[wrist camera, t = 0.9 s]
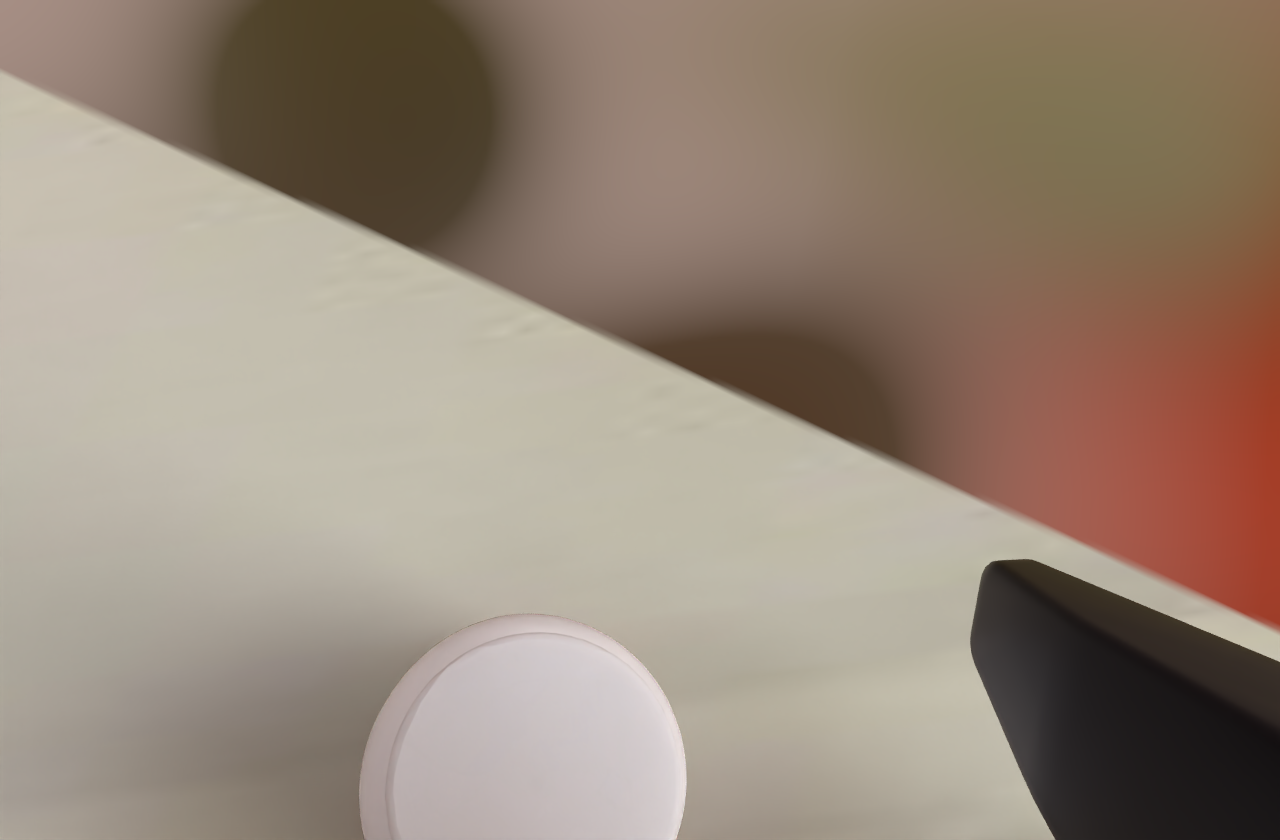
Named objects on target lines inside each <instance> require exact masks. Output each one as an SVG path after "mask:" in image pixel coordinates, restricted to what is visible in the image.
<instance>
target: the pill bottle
mask: <svg viewBox="0 0 1280 840" xmlns="http://www.w3.org/2000/svg"><path fill="white" fill-rule="evenodd" d="M685 799H686V760H685V752H684V747H683V742H682V737H681V733H680V730H679V727H678V724H677V721H676V718H675V715H674V713H673V711H672V708H671V706H670V704H669V702H668V700H667V698H666V696H665V694H664V693H663V691H662V689H661V688H660V686H659V685H658V683H657V682H656V680H655V679H654V677H653V676H652V675H651V673H650V672H649V671H648V670H647V669H646V668H645V666H644V665H643V664H642V663H641V662H640V661H639V660H638V659H637V658H636V657H635V656H634V655H633V654H632V653H630V652H629V651H628V650H627V649H626V648H625V647H623V646H622V645H621V644H619V643H618V642H617V641H615V640H614V639H612V638H610V637H609V636H607V635H605V634H604V633H602V632H600V631H598V630H596V629H594V628H592V627H590V626H587V625H585V624H583V623H580V622H576V621H573V620H570V619H566V618H562V617H558V616H551V615H543V614H514V615H506V616H500V617H495V618H492V619H488V620H485V621H482V622H479V623H476V624H473V625H470V626H468V627H466V628H464V629H461V630H459V631H457V632H456V633H454V634H452V635H450V636H448V637H447V638H445V639H444V640H442V641H441V642H439V643H438V644H436V645H435V646H434V647H433V648H431V649H430V650H429V651H428V652H427V653H425V654H424V655H423V656H422V657H421V658H420V659H419V660H418V661H417V662H416V663H415V664H414V665H413V666H412V667H411V668H410V669H409V670H408V671H407V672H406V674H405V675H404V676H403V677H402V678H401V680H400V681H399V682H398V684H397V685H396V686H395V688H394V689H393V691H392V692H391V694H390V695H389V697H388V699H387V700H386V702H385V704H384V705H383V707H382V709H381V710H380V712H379V714H378V716H377V718H376V720H375V723H374V725H373V727H372V730H371V732H370V735H369V738H368V741H367V745H366V748H365V751H364V755H363V760H362V766H361V773H360V783H359V808H360V818H361V824H362V830H363V835H364V839H365V840H676V838H677V835H678V833H679V829H680V825H681V822H682V818H683V813H684V807H685Z"/></svg>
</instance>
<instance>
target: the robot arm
mask: <svg viewBox="0 0 1280 840" xmlns="http://www.w3.org/2000/svg"><path fill="white" fill-rule="evenodd" d="M970 645H971V653H972V657H973V660H974V663H975V666H976V668H977V670H978V673H979V675H980V677H981V680H982V682H983V684H984V687H985V689H986V691H987V694H988V696H989V698H990V701H991V703H992V705H993V708H994V710H995V712H996V715H997V717H998V719H999V722H1000V724H1001V726H1002V729H1003V731H1004V733H1005V736H1006V738H1007V740H1008V743H1009V745H1010V747H1011V750H1012V752H1013V754H1014V757H1015V759H1016V761H1017V763H1018V766H1019V768H1020V770H1021V773H1022V775H1023V777H1024V780H1025V782H1026V784H1027V786H1028V788H1029V790H1030V792H1031V794H1032V797H1033V799H1034V801H1035V803H1036V805H1037V806H1038V808H1039V810H1040V812H1041V814H1042V816H1043V818H1044V820H1045V821H1046V823H1047V825H1048V827H1049V829H1050V831H1051V832H1052V834H1053V836H1054V838H1055V839H1056V840H1280V662H1279V661H1276V660H1274V659H1271V658H1269V657H1267V656H1264V655H1262V654H1259V653H1257V652H1254V651H1252V650H1250V649H1247V648H1245V647H1242V646H1240V645H1238V644H1235V643H1233V642H1230V641H1228V640H1225V639H1223V638H1221V637H1218V636H1216V635H1213V634H1211V633H1209V632H1206V631H1204V630H1201V629H1199V628H1196V627H1194V626H1192V625H1189V624H1187V623H1184V622H1182V621H1180V620H1177V619H1175V618H1172V617H1170V616H1168V615H1165V614H1163V613H1160V612H1158V611H1155V610H1153V609H1151V608H1148V607H1146V606H1143V605H1141V604H1139V603H1136V602H1134V601H1131V600H1129V599H1126V598H1124V597H1122V596H1119V595H1117V594H1114V593H1112V592H1110V591H1107V590H1105V589H1102V588H1100V587H1097V586H1095V585H1093V584H1090V583H1088V582H1085V581H1083V580H1081V579H1078V578H1076V577H1073V576H1071V575H1069V574H1066V573H1064V572H1061V571H1059V570H1056V569H1054V568H1052V567H1049V566H1047V565H1044V564H1042V563H1040V562H1037V561H1034V560H1029V559H1019V560H1001V561H993V562H991V563H990V564H989V565H987V566H986V567H985V569H984V571H983V573H982V577H981V581H980V586H979V592H978V597H977V603H976V608H975V614H974V619H973V624H972V630H971V637H970Z"/></svg>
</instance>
